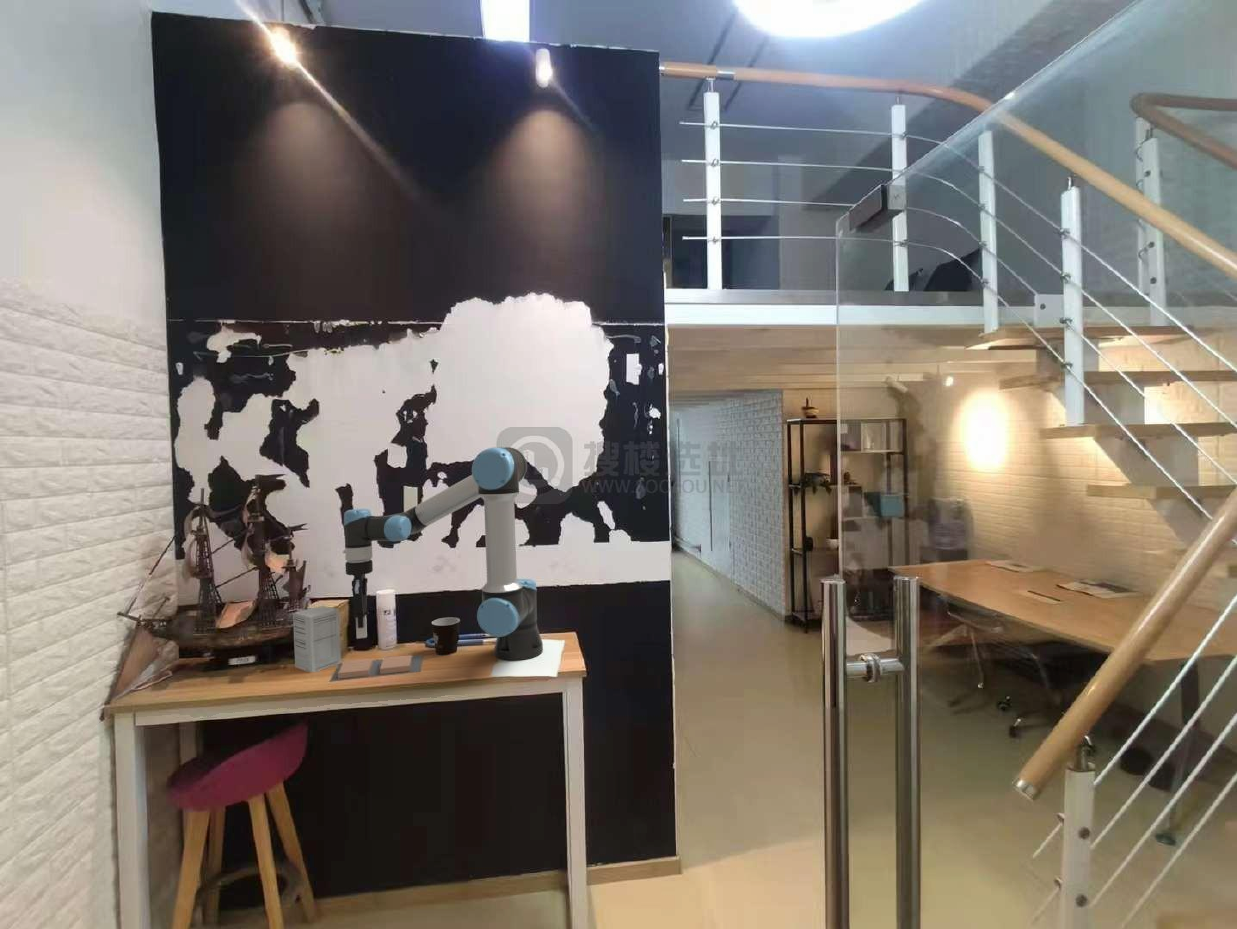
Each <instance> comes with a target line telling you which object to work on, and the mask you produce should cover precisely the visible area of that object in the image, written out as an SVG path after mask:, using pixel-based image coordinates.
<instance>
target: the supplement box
mask: <svg viewBox="0 0 1237 929" xmlns="http://www.w3.org/2000/svg"><path fill="white" fill-rule="evenodd" d="M292 616H293V617H292V619H293V623H292V624H293V643H294V644H293V646H294V667H295V669H299V670H301V671H305V672H307V673H310V674H313V673H316V672H319V671H323V670H325V669H328V668H331V667H334V666H338V665H339V664H342V658H341V657H342V656H341V655H342V654H341V653H342V652H341V651H342V650H341V629H340V628H341V626H340V610H339V609H338V608H334V607H330V606H326V605H319V606H314V607H311V608H308V609H303V610H299V611H296V612H293V613H292Z"/></svg>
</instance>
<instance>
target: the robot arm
mask: <svg viewBox="0 0 1237 929" xmlns="http://www.w3.org/2000/svg"><path fill="white" fill-rule="evenodd" d="M527 471H528V464H527V460H526V457H525V455H524V454H523V453H522V452H521V451H520V450H518V449H516V448H515V447H507V446H506V447H501V446H498V447H497V446H494V447H489V448H486V449H483V450H482V451H480V452H479V453H478V454H477V455H476V456H475V458H474V460H473V462H472V465H471V475H469V476H467V477H466V478H464V479H462V480H460V481H458V482H456V483H455V484H453V485H450V486H449V487H447V488H445V489H444V490H442V491H440V492H438V493H436V494H435V495H433V496H431V497H429V498H428V499H426V500H423V501H422V502H420V503H419V504H417V505H416V506H413V507H412V508H410V509H408V510H406V511H403V512H399V513H395V514H390V515H372V513H371V510H370V509H368V508H356V509H355V508H353V509H349V510H346V511H345V512H344V513H343V529H344V530H343V531H344V532H343V533H344V534H343V535H344V549H345V550H343V551H342V553H343V554H345V556H344V558H345V561H346V562H345V564H344V565H345V574H346V575H347V576H353V579H352V580H351V592H352V598H353V610H354V615H353V616H352V618H354V619H355V630H356V639H357V640H358V639H366V638H367V637H368V632H367V631H368V630H367V627H368V626H367V615H369V613H370V612H369V611H368V599H367V598H368V595H367V594H368V577H366V575H368V574H370V573H372V572H373V569H374V568H373V566H374V565H373V560H372V558H373V543H372V542H379V541H380V542H401V541H406V540H407V539H408V538H409V537H410V535H417V534H419V533H420V532H422V531H424V530H425V529H426V528H427V527H429V526H430V525H432V524H434V523H436V522H438V521H439V520H441V519H443V518H445V517H446V516H449V515H450V514H452V513H455V512H456V511H458V510H460V509H462V508H464V507H465V506H467V505H469V504H471V503H473V502H475V501H476V500H478V499H479V498H481V499H482V500H483V504H484V505H483V507H484V509H483V510H484V532H485V533H484V534H485V536H484V537H485V561H486V562H485V564H486V583H485V584H484V585H482V587H481V598H482V599H481V600H482V602H481V604H480V605H479V606H478V609H477V612H476V618H477V619H476V620H477V622H478V625H479V627H480V629H481V630H482V631H484V632H485V633H486V634H487V635H489V636H492V637H495V638H496V639H495V640H496V641H495V644H494V646H493V648H494V656H495V657H496V658H499V659H501V660H506V661H507V660H508V661H521V660H522V661H524V660H526V659H527V660H528V659H532V658H535V657H537V656H539V655H541V654H542V653H543V651H544V648H543V647H544V644H543V640H542V638H541V635H540V631H539V629H538V622H537V621H538V618H537V616H538V614H537V613H538V612H537V611H538V610H537V608H538V607H537V604H538V603H537V591H538V590H537V583H536V582H535V580H533V579H530V578H529V579H528V578H517V575H518V574H517V551H516V550H517V547H516V545H517V544H516V543H517V542H516V521H515V517H516V516H515V499H516V497H517V496H518V495H519V494H520V482H521V481H522V480H523V479H524V478H525V476H526V473H527Z"/></svg>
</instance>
